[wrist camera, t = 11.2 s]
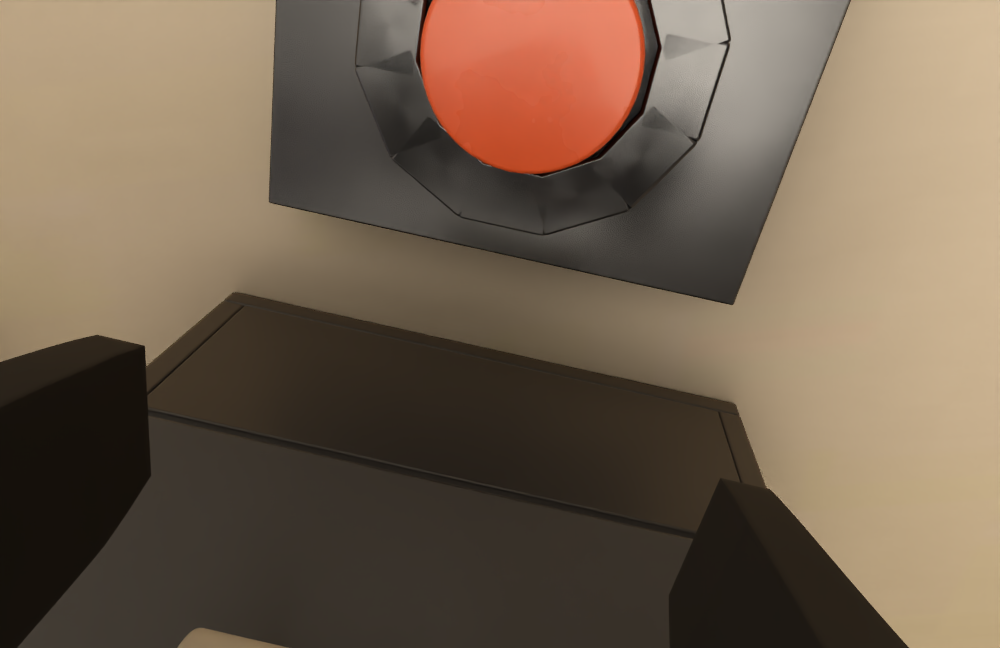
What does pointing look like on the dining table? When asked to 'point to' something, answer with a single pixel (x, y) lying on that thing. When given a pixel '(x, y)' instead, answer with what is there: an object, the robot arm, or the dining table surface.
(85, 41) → the dining table surface
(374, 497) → the box lid
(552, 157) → the button
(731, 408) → the dark grey box
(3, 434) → the robot arm
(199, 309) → the dining table surface
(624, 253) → the button pad
